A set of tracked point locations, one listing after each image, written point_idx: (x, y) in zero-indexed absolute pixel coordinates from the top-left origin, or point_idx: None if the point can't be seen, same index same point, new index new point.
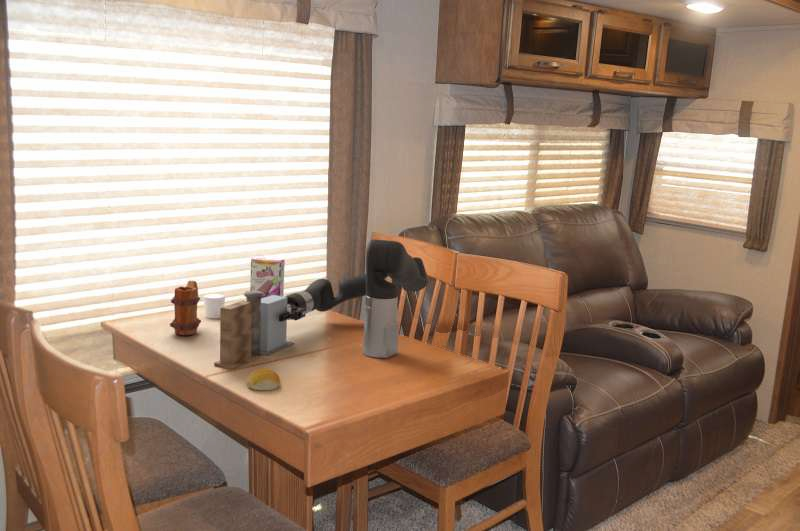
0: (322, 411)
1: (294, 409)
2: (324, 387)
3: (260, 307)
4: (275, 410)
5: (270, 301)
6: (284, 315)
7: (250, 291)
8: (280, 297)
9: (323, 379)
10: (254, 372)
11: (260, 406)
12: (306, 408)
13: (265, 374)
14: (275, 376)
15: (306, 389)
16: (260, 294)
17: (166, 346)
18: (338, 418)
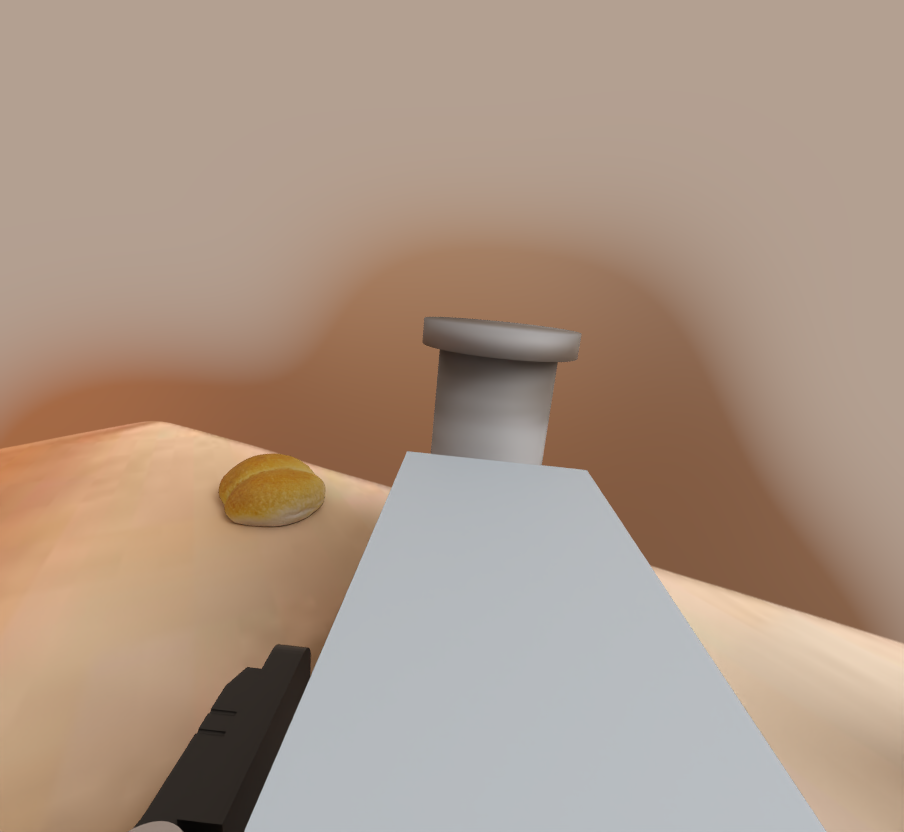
0: (106, 448)
1: (178, 447)
2: (50, 523)
3: (433, 436)
4: (222, 443)
5: (436, 496)
6: (236, 683)
7: (555, 331)
8: (429, 786)
9: (23, 569)
10: (305, 474)
11: (257, 447)
12: (147, 451)
13: (264, 454)
14: (234, 467)
15: (128, 505)
16: (428, 317)
17: (879, 672)
18: (73, 438)
